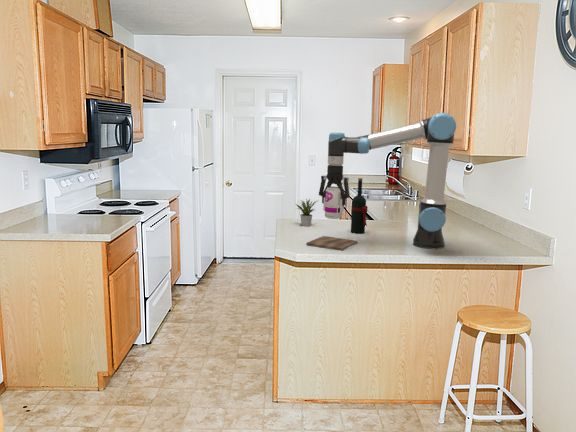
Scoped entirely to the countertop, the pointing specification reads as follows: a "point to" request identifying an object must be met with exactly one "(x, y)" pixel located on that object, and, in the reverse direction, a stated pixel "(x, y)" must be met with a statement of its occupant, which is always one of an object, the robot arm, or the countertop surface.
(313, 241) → the walnut board
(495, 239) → the countertop surface
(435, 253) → the countertop surface
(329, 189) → the supplement can
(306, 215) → the house plant
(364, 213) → the wine bottle
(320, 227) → the countertop surface
